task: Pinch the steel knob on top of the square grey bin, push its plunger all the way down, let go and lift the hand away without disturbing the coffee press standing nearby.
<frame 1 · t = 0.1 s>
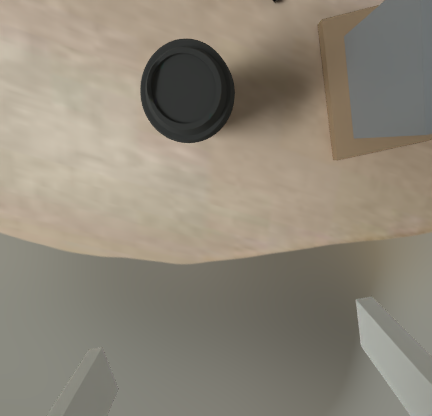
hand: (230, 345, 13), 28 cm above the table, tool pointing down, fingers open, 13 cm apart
square grey bin: (391, 80, 36), on the table
coffee cup: (197, 111, 37), on the table
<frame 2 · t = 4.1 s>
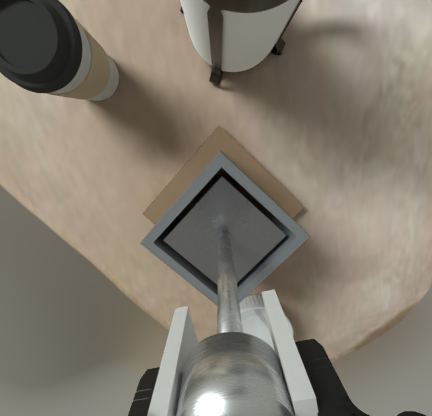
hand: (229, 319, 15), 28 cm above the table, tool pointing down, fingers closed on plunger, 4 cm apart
square grey bin: (222, 208, 42), on the table
ramekin: (254, 315, 47), on the table
coffee cup: (95, 76, 38), on the table
coffee press: (240, 24, 36), on the table
plunger: (227, 285, 19), point 24 cm above the table, slide at 0.0 cm, touching gripper
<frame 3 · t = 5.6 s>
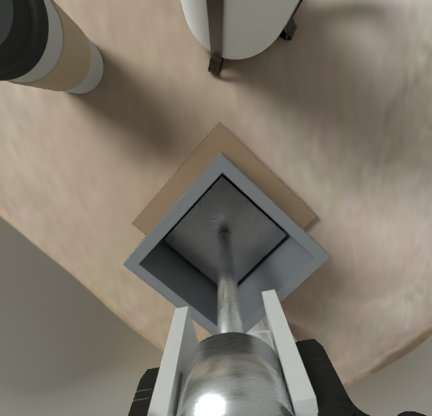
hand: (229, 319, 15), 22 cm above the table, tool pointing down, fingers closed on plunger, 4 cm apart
square grey bin: (223, 216, 37), on the table
ramekin: (259, 336, 42), on the table
coffee cup: (76, 65, 33), on the table
coffee press: (244, 3, 31), on the table
plunger: (227, 285, 19), point 19 cm above the table, slide at 5.2 cm, touching gripper
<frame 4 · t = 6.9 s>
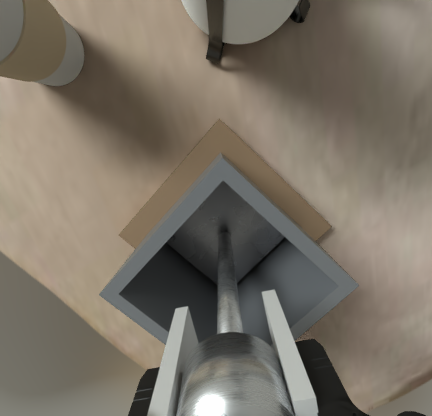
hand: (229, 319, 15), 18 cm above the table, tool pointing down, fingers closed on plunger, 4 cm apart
square grey bin: (223, 226, 32), on the table
coffee cup: (53, 53, 28), on the table
plunger: (227, 285, 19), point 14 cm above the table, slide at 10.0 cm, touching gripper
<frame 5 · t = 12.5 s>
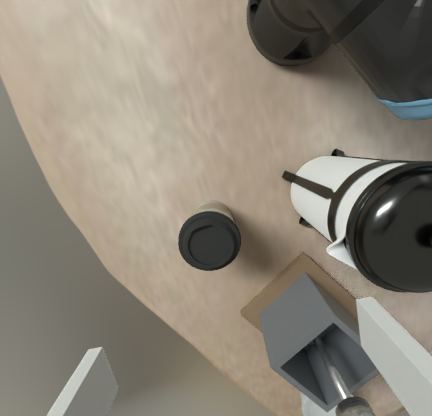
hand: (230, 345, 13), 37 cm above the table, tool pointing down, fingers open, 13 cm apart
square grey bin: (301, 308, 54), on the table
ramekin: (320, 385, 59), on the table
coffee cup: (212, 217, 50), on the table
coffee press: (324, 183, 48), on the table
plunger: (328, 362, 41), point 14 cm above the table, slide at 10.0 cm
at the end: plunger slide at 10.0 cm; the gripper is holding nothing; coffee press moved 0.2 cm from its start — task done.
